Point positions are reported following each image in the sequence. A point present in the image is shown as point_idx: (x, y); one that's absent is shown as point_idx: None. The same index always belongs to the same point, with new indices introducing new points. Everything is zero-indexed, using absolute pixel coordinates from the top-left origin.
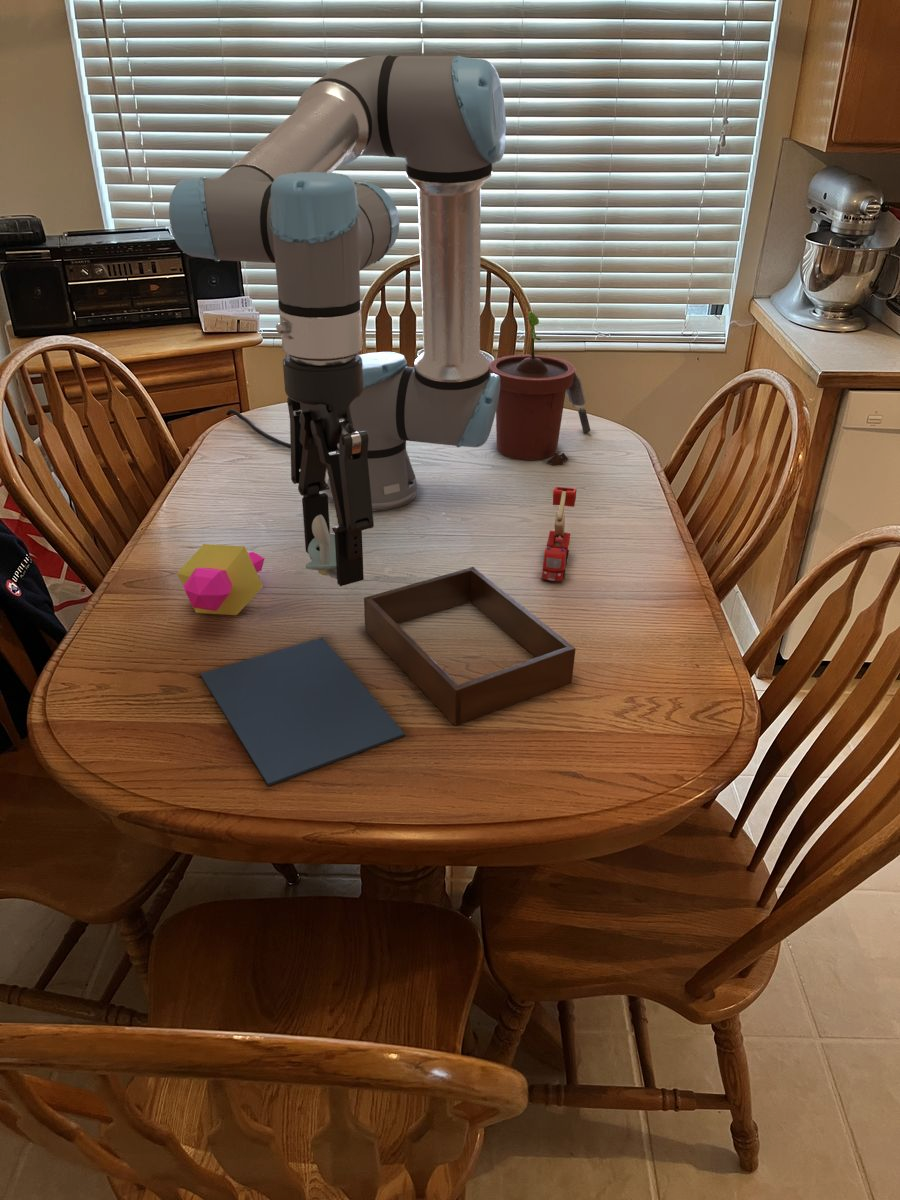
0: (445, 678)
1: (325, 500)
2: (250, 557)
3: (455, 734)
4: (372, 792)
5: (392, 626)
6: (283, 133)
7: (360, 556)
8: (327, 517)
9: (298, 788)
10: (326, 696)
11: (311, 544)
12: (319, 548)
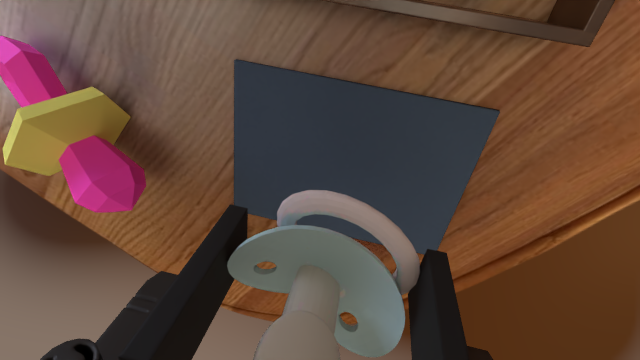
0: (546, 36)
1: (162, 351)
2: (20, 75)
3: (564, 49)
4: (533, 198)
5: (336, 2)
6: None
7: (487, 356)
8: (201, 286)
9: (459, 239)
10: (359, 139)
11: (246, 279)
12: (244, 240)
